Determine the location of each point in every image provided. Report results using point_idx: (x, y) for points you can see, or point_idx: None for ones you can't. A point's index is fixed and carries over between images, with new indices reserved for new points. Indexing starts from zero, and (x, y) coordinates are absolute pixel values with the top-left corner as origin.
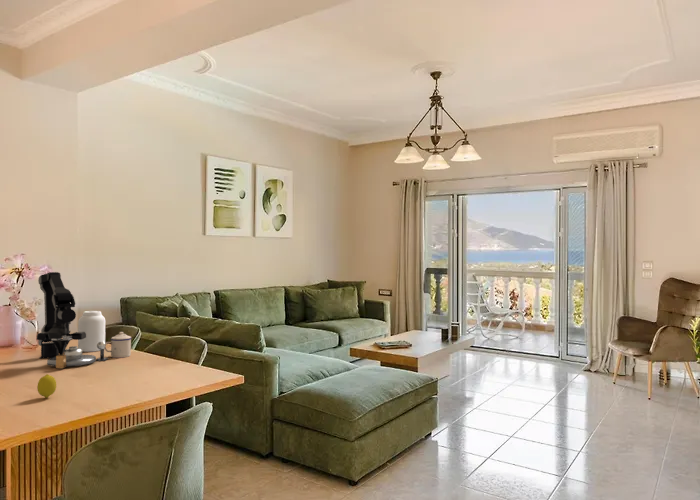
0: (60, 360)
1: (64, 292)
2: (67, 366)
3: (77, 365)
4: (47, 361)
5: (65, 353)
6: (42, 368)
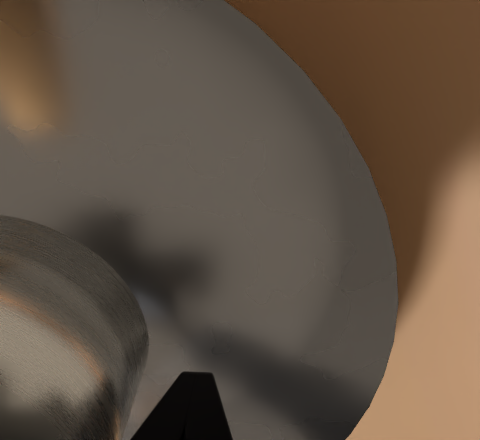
0: None
1: None
2: None
3: None
4: (362, 158)
5: (14, 318)
6: (379, 2)
